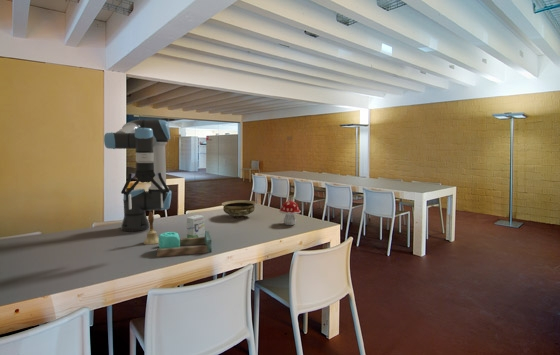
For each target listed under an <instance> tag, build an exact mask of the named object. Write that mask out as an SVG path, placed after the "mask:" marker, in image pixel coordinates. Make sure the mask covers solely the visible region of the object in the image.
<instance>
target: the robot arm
mask: <svg viewBox="0 0 560 355" xmlns="http://www.w3.org/2000/svg"><path fill="white" fill-rule="evenodd" d="M170 140H171V133H170V127H169V123H168V122H167V120H162V119H143V118H142V119H135V120H131V121H128V122H126V123H124V124H123V126H122V127H121V128H120V129H119V130H117V131H116V132H113V131H111V132H106V133H105V134H104V136H103V142H104V143H103V144H104V146H105V148H106V149H111V150H112V149H113V150H117V149H119V150H121V149H123V150H125V149H126V150H127V149H128V150H129V149H130V150H131V149H132V150H133V149H134V150H135V162H136V163H135V173H134V172H129V173H128V178H127V179H126V182H125V184H124V186H123V188H122V190H121V192H120V193H121V194H123V199H122V200H123V214H124V215H123V219H122V223H121V228H120V229H121V231H123V232H138V231H139V232H140V231H144V230H147V229H150V223H149V220H148V217H147V215H146V214H147V213H146V211H149V212H151V211H165V210H169V209H170V206H171V200H172V190H170V188H169V186H168V185H167V167H166V166H167V164H166V162H167V161H166V145H167V144H168V142H169V141H170ZM134 177H135V178H136V179H137V180H136V181H135V182H134V183H133V184H132V185H131V187H129V184H130V183H131V182H132V181H131V180H132V179H133V178H134ZM139 183H141V184H143V183H148V184H149V183H150V186H149V187H148V189H147V191H146V189H145V188H138V189H137V188H136V187H137V185H138V184H139ZM128 187H129V188H128ZM135 188H136V189H135ZM127 189H128V190H127Z"/></svg>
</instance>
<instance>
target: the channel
mask: <svg viewBox="0 0 560 355" xmlns="http://www.w3.org/2000/svg"><path fill="white" fill-rule="evenodd" d="M212 251H213V250H212V237H211V234H210V231H209V230H205V236H204V237H197V238H187V237H186V238H180V247H176V248H164V249H160V248H157V249H156V257H157V258H160V257H171V256H173V257H174V256H183V255H194V254H204V253H205V254H208V253H212Z"/></svg>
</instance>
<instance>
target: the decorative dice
mask: <svg viewBox="0 0 560 355" xmlns="http://www.w3.org/2000/svg"><path fill="white" fill-rule="evenodd" d="M158 238H159V243H158V249H164V248H176V247H181V246H180V239H181V238H180V235H179V233H178V232H175V231H167V232H163V233H160V235H159V236H158Z"/></svg>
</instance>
